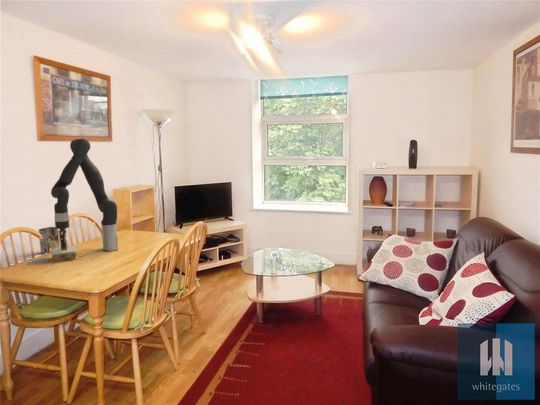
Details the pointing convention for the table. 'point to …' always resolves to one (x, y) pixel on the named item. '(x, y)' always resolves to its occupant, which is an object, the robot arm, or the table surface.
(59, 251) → the lid
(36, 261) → the mat
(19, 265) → the table surface
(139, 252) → the table surface
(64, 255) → the box
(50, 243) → the coffee box
